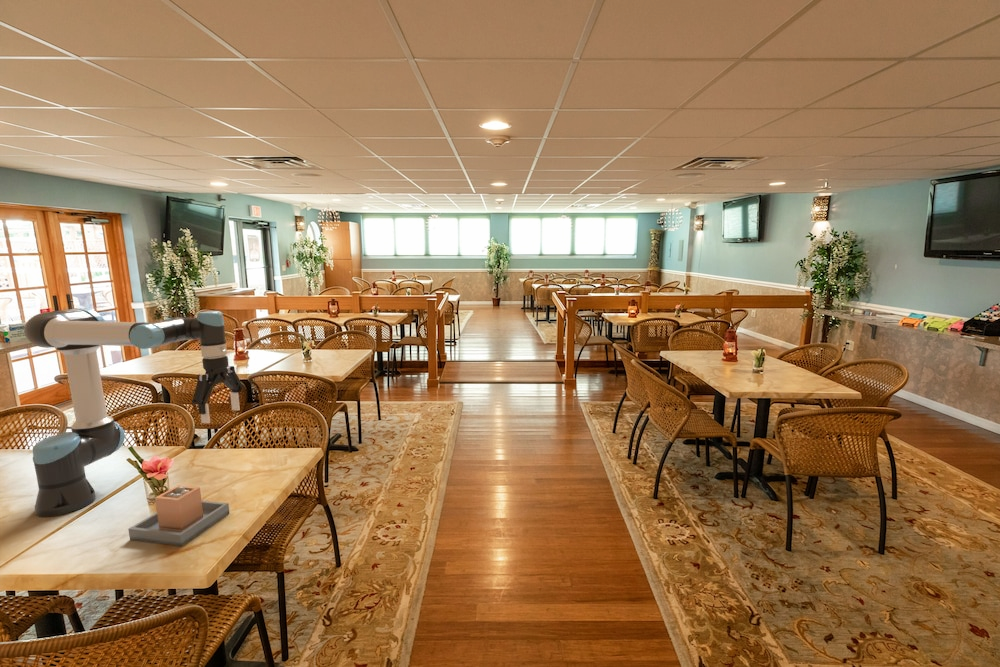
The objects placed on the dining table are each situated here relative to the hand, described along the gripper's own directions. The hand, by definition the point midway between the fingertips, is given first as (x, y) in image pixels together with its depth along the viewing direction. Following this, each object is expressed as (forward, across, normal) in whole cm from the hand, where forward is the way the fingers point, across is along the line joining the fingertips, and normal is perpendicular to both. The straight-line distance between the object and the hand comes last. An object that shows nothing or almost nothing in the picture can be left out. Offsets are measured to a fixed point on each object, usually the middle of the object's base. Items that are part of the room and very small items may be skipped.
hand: (221, 416), depth 166 cm
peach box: (+26, -24, -4) cm, 35 cm away
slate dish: (+27, -24, -4) cm, 36 cm away
